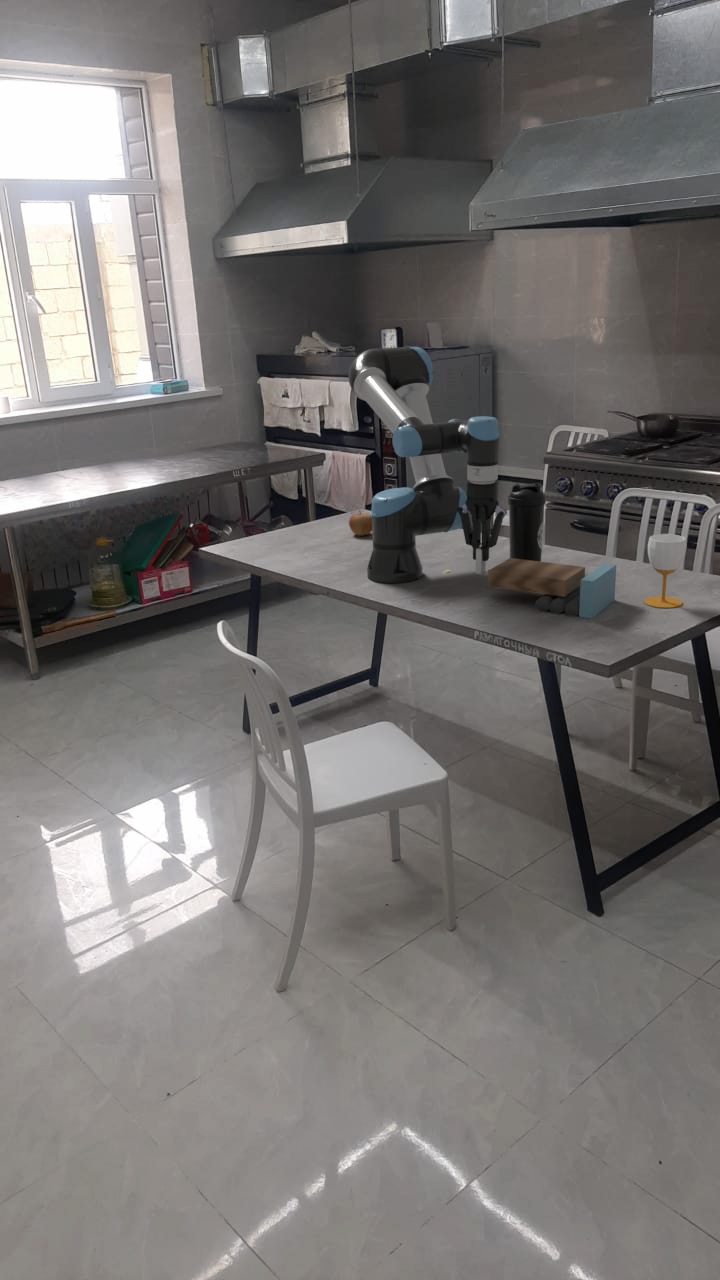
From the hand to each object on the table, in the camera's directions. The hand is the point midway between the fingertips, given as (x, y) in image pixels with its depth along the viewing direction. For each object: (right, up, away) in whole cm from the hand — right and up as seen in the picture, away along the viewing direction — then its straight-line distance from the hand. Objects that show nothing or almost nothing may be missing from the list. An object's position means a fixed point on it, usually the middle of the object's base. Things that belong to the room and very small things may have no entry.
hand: (480, 572), depth 247 cm
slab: (+13, -4, -8) cm, 16 cm away
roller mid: (+19, -6, -11) cm, 23 cm away
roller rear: (+18, -6, -11) cm, 22 cm away
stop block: (+26, -10, -15) cm, 32 cm away
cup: (+43, -8, -13) cm, 45 cm away
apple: (-30, +16, +64) cm, 73 cm away
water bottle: (+15, +3, +22) cm, 27 cm away
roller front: (+23, -9, -13) cm, 28 cm away
